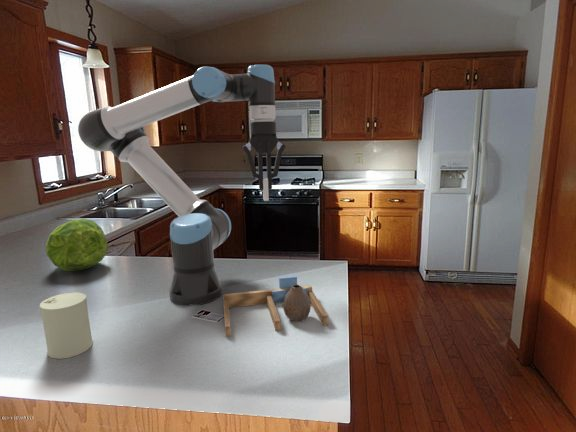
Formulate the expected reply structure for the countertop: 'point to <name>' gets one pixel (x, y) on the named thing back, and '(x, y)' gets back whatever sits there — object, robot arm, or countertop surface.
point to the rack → (268, 304)
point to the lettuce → (77, 245)
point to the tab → (287, 281)
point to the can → (66, 325)
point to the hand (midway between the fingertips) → (266, 200)
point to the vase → (296, 304)
